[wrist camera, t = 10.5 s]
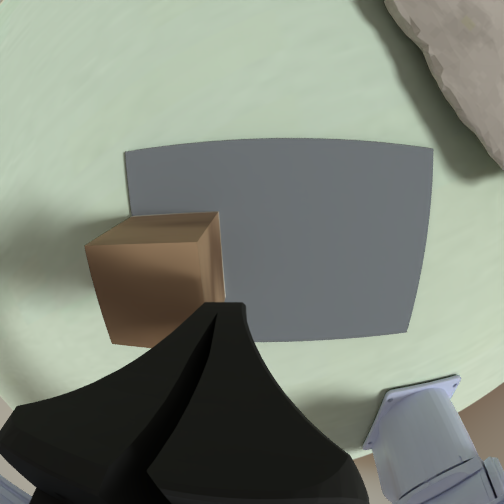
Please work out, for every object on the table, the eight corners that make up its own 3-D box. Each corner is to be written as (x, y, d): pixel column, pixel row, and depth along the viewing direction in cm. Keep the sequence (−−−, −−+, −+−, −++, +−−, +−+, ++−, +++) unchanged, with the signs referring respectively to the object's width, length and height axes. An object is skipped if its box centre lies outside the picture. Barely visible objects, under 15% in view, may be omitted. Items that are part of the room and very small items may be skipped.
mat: (405, 329, 17) (406, 332, 17) (157, 335, 18) (156, 338, 18) (430, 148, 13) (433, 148, 13) (127, 151, 14) (125, 151, 14)
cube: (112, 343, 12) (146, 295, 17) (211, 351, 12) (225, 296, 17) (84, 245, 11) (132, 216, 15) (197, 241, 10) (218, 211, 15)
